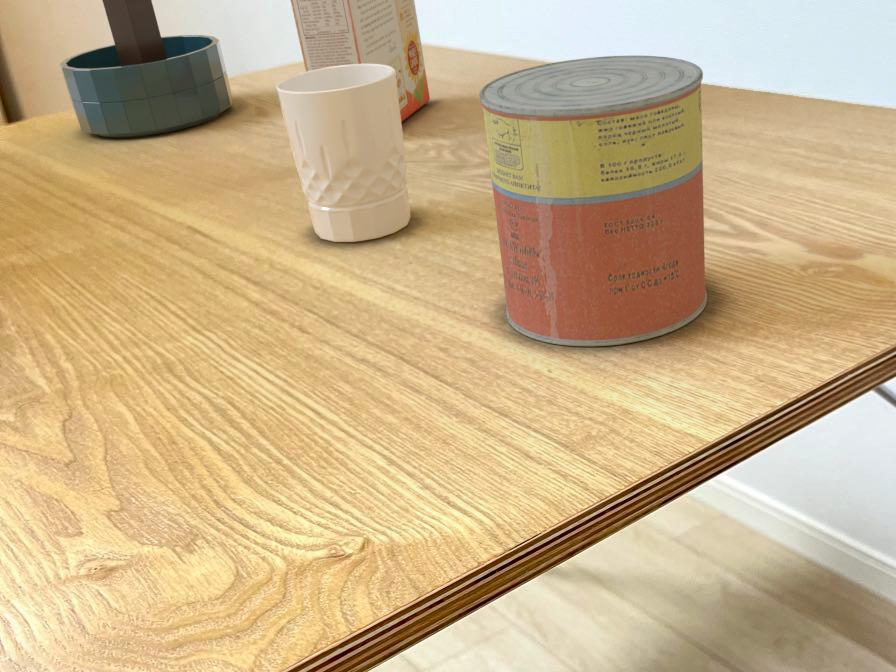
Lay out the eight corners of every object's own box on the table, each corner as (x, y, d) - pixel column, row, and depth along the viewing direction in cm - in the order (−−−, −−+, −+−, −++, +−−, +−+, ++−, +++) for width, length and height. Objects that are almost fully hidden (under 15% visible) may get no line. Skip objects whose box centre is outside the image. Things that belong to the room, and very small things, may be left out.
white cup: (319, 213, 84) (289, 69, 78) (425, 204, 83) (402, 58, 78) (296, 250, 77) (262, 97, 72) (411, 241, 77) (385, 85, 71)
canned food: (694, 259, 69) (689, 46, 62) (719, 335, 59) (716, 95, 53) (508, 277, 69) (483, 68, 63) (504, 355, 60) (474, 120, 53)
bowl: (49, 137, 114) (26, 68, 110) (158, 98, 125) (141, 34, 121) (158, 143, 107) (138, 70, 104) (264, 102, 118) (249, 34, 114)
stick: (135, 117, 115) (91, -37, 107) (157, 108, 117) (116, -43, 110) (158, 117, 114) (115, -38, 106) (180, 109, 116) (140, -44, 108)
